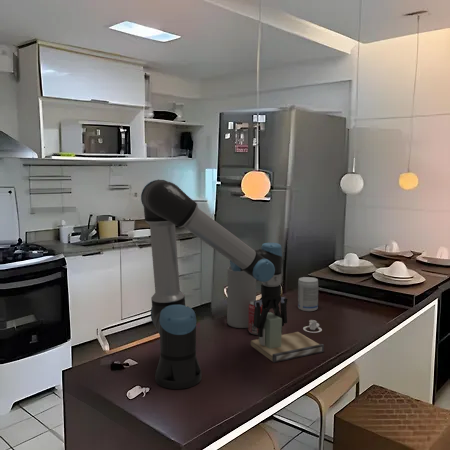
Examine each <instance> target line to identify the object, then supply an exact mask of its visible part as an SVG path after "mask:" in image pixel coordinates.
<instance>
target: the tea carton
mask: <svg viewBox="0 0 450 450" xmlns="http://www.w3.org/2000/svg"><path fill="white" fill-rule="evenodd" d="M260 315H261V314H260ZM264 329H265V346H266V347H268V348H269V349H272V348H277V347H281V335H283V326H282V318H280V317H278V316H276V315H275V314H274V313H273V312H271V311H269V312H268V314H267V317H266V321H265V324H264ZM258 339H259V342H260V337H259V336H258Z"/></svg>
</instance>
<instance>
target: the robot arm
mask: <svg viewBox="0 0 450 450" xmlns="http://www.w3.org/2000/svg"><path fill="white" fill-rule="evenodd" d="M140 201H141V202H140V203H141V204H142V206H143V213H144V214H143V215H144V222H145V223H146V224H148V225H149V230H150V231H149V232H150V244H151V245H150V246H151V256H152V265H153V266H152V267H153V268H152V269H153V279H154V282H153V283H154V294H153V295H152V296H151V309H150V320H151V322H152V324H153V326H154V327H155V329H156V331H157V333H158V335H159V339H160V340H159V342H160V343H159V344H160V345H159V346H160V347H159V348H160V349H159V351H160V352H159V353H160V356H159V360H158V364H157V367H156V370H155V374H154V375H155V377H154V378H155V380H154V381H155V383H156V384H157V385H159V386H160V387H161V388H165V389H169V390H171V389H172V390H183V389H188V388H189V389H190V388H191V387H194V386H196V385H198V384H199V383H200V382H201V381H202V369H201V367H200V366H201V365H200V363H199V360H198V357H197V317H196V312H195V310H194V309H193V308H191V307H190V306H186V297H185V295H186V294H184V292H182V291H181V288H180V286H181V285H180V273H179V264H178V263H179V260H178V247H177V234H176V232H177V231H176V226H177V228H180V229H182V228H184V229H186V230H187V231H189V232H190V233H191V234H193V235H194V236H195V237H197V238H198V239H199V240H201V241H202V242H204V243H205V244H207V245H208V246H209V247H210V248H212V249H214V250H215V251H217V252H218V253H219V254H220V255H222V257H225V258H226V259H228V260H229V264H230V266H231V269H232V270H233V271H239V272H241V271H245V272H246V273H248V274H249V275H251V276H252V277H254V278H255V279H256V281H259V282H260V283H261V285H260V295H261V296H260V299H259V301H254V306H255V311H254V324H253V326H255V327H256V328H258V335H257V336H258V338H259V337H260V344H261V345H263V346H265V329H264V324H265V321H266V317H267V314H268V313H269V312H270V310H271V309H272V310H273V312H274V313H273V314H275V315H276V316H278V317H280V318H282V327H284V326H285V324H287V323H288V310H287V305H288V298H287V297H284V296H282V268H283V267H282V264H283V263H282V260H283V249H282V248H283V247H282V245H281V244H280V243H277V242H265V243H262V245H261V248H259V249H254V248H252V247H251V246H249V245H248V244H246V243H245V242H244V241H242V240H241V238H239V237H237V236H236V235H235V234H233V233H232V232H230V230H228V229H226V228H225V227H224V226H222V225H221V224H220V223H218V222H217V221H216V220H215V219H213V218H212V217H210V216H209V215H208V214H206V212H204V211H202V210H201V209H200V208H199V205H198V203H197V202H196V201H194V200H193V198H191V197H190V196H188V195H187V194H186V192H184V191H183V190H182V188H180V187H179V186H178V185H177V184H176V183H173V182H172V181H167V180H165V179H154V180H151V181H150V182H148V183H147V184H145V185H144V187H143V189H142V190H141V194H140ZM230 266H229V267H230ZM261 304H263V306H262V312H261ZM260 313H261V315H260Z"/></svg>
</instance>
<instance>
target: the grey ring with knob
mask: <svg viewBox="0 0 450 450" xmlns="http://www.w3.org/2000/svg"><path fill="white" fill-rule="evenodd" d="M308 328H309V330H310V331H309V330H307V329H308ZM302 329H303V331H305V332H307V333H311V334H312V333H313V334H316V333H320V332H322V331H323V329H322V327H320V323H319V322H318V321H317V320H314V319H310V320H308V325H307V326H303V328H302ZM316 329H318V331H315V330H316Z"/></svg>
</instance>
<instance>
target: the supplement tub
mask: <svg viewBox="0 0 450 450" xmlns="http://www.w3.org/2000/svg"><path fill="white" fill-rule="evenodd" d="M297 284H298V285H297V308H298V309H299V310H300V311H302V312H303V311H304V312H313V311H316V310H318V308H319V279H318V278H316V277H310V276H303V277H299V278H298V282H297Z"/></svg>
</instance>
